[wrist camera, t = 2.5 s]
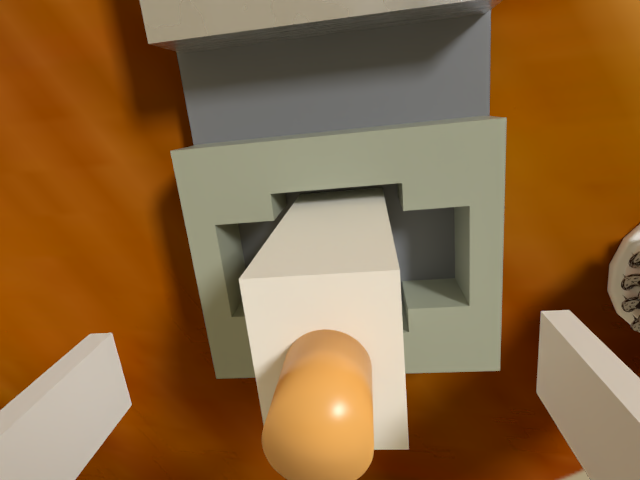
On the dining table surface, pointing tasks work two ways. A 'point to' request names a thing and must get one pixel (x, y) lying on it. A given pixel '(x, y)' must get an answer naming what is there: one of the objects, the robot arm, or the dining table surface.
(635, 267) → the decorative candle
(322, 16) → the socket
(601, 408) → the robot arm
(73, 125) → the dining table surface
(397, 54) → the board
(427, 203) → the grey-green cross cutout frame
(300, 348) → the plug
